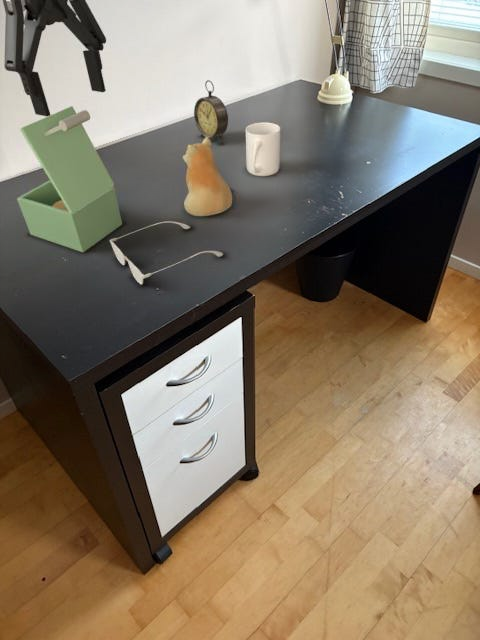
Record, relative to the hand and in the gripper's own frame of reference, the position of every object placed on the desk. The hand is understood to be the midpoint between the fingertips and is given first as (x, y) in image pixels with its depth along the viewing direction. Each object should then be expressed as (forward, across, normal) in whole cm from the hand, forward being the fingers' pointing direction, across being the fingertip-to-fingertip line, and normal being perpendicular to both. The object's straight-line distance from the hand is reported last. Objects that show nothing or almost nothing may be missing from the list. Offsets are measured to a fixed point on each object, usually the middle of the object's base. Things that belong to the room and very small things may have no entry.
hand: (72, 102), depth 83 cm
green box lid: (+11, 0, +5) cm, 12 cm away
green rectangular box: (+28, 0, +9) cm, 29 cm away
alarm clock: (+28, +57, +8) cm, 64 cm away
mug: (+28, +43, -15) cm, 53 cm away
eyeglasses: (+28, +1, -15) cm, 32 cm away
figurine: (+28, +23, -11) cm, 38 cm away
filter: (+27, 0, +10) cm, 29 cm away
